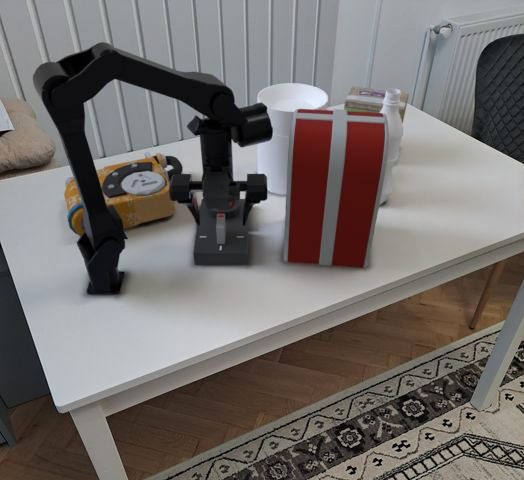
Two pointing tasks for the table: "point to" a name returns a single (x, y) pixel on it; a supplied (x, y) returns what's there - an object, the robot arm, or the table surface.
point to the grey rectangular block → (221, 229)
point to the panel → (221, 245)
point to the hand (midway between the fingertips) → (221, 224)
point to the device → (129, 191)
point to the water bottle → (391, 136)
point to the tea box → (371, 101)
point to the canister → (283, 127)
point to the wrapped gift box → (334, 185)
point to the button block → (231, 213)
